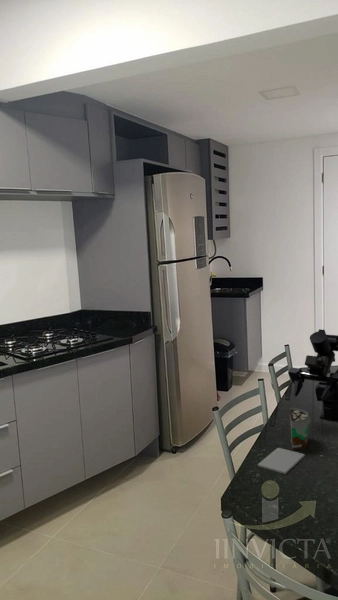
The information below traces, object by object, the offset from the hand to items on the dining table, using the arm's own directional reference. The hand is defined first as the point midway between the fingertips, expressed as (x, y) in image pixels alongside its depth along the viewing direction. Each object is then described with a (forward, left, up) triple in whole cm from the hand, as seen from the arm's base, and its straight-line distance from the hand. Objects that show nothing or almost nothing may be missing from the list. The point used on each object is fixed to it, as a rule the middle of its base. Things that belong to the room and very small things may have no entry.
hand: (308, 398), depth 156 cm
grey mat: (+21, 0, -13) cm, 25 cm away
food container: (+6, 0, -14) cm, 15 cm away
